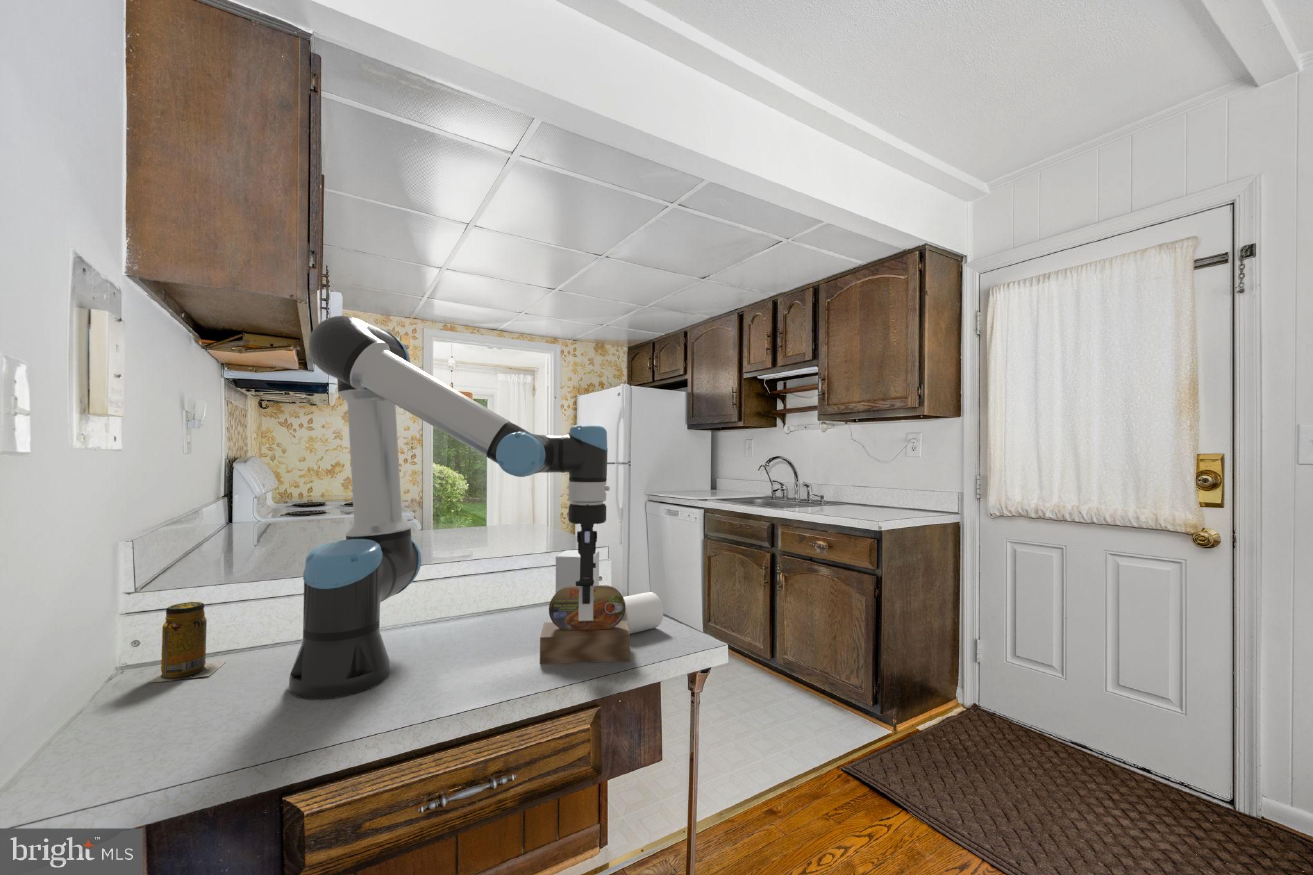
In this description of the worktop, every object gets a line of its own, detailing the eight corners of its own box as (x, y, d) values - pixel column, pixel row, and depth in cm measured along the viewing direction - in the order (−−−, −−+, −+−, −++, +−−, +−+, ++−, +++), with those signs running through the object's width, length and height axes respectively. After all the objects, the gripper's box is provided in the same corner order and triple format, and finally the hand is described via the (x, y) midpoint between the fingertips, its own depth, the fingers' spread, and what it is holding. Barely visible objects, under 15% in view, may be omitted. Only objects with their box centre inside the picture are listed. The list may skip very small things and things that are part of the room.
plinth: (539, 663, 105) (540, 637, 105) (543, 647, 114) (543, 622, 114) (629, 660, 107) (629, 634, 107) (626, 644, 116) (626, 620, 116)
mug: (663, 631, 125) (664, 595, 126) (628, 640, 119) (628, 603, 119) (631, 618, 135) (632, 585, 135) (596, 626, 128) (597, 591, 129)
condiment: (170, 667, 101) (172, 601, 102) (225, 662, 104) (227, 597, 104) (148, 683, 94) (150, 612, 95) (208, 677, 97) (210, 608, 97)
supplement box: (599, 609, 141) (600, 550, 141) (590, 620, 132) (591, 557, 133) (565, 607, 142) (566, 549, 143) (553, 618, 134) (555, 555, 134)
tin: (548, 631, 109) (549, 588, 109) (549, 626, 112) (550, 584, 112) (625, 629, 111) (625, 586, 111) (624, 624, 114) (625, 583, 114)
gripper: (608, 509, 99) (606, 629, 99) (604, 497, 124) (603, 593, 124) (566, 509, 99) (564, 630, 98) (570, 497, 123) (568, 593, 123)
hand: (585, 609), depth 111 cm, fingers open, 13 cm apart
